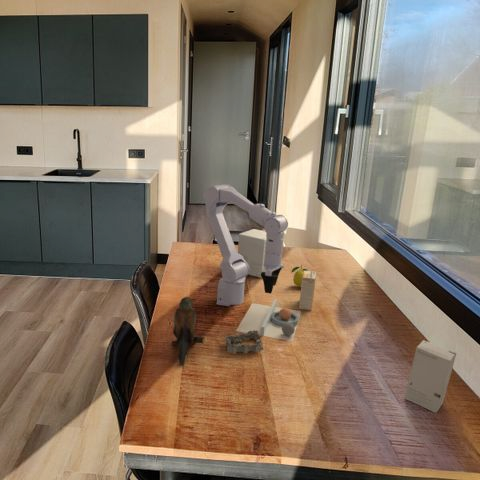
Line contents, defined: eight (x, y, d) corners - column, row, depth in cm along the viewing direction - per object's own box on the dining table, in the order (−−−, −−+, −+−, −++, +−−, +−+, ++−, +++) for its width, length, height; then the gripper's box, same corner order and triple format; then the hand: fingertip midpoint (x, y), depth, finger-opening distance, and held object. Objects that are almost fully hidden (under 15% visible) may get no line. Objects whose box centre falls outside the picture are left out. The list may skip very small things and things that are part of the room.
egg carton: (258, 341, 133) (259, 329, 132) (263, 354, 126) (264, 342, 125) (223, 342, 131) (224, 330, 130) (227, 355, 124) (228, 342, 123)
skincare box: (403, 399, 109) (413, 346, 105) (411, 389, 113) (421, 338, 109) (438, 414, 104) (450, 360, 100) (445, 403, 108) (457, 350, 104)
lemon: (289, 288, 177) (291, 265, 174) (292, 283, 182) (295, 261, 179) (305, 291, 175) (307, 268, 172) (308, 286, 180) (311, 264, 177)
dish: (268, 324, 142) (269, 320, 141) (273, 313, 150) (274, 309, 150) (296, 329, 140) (296, 324, 139) (299, 317, 148) (299, 313, 148)
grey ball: (280, 336, 134) (281, 325, 133) (282, 331, 138) (283, 319, 137) (293, 339, 133) (294, 327, 132) (294, 333, 137) (296, 321, 136)
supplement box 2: (311, 312, 155) (315, 278, 151) (298, 311, 156) (302, 277, 152) (312, 304, 163) (316, 271, 159) (300, 302, 164) (303, 269, 160)
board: (235, 333, 136) (235, 330, 136) (252, 305, 158) (252, 303, 157) (292, 344, 132) (292, 341, 132) (301, 313, 154) (301, 311, 153)
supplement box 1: (275, 270, 196) (279, 233, 192) (261, 278, 186) (264, 239, 181) (251, 264, 203) (253, 228, 198) (235, 271, 192) (238, 233, 188)
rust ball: (277, 320, 143) (279, 310, 142) (279, 315, 147) (280, 305, 146) (289, 323, 142) (291, 312, 141) (291, 317, 146) (292, 307, 145)
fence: (260, 335, 134) (261, 326, 133) (273, 306, 156) (274, 299, 155) (263, 336, 134) (264, 327, 133) (276, 307, 155) (277, 299, 155)
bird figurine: (202, 366, 116) (206, 292, 121) (165, 365, 115) (170, 291, 121) (204, 365, 128) (207, 299, 134) (171, 365, 128) (175, 298, 134)
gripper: (282, 259, 137) (278, 298, 141) (288, 247, 150) (285, 283, 154) (260, 256, 138) (257, 295, 142) (269, 244, 152) (265, 280, 156)
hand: (270, 288), depth 148 cm, fingers open, 7 cm apart
